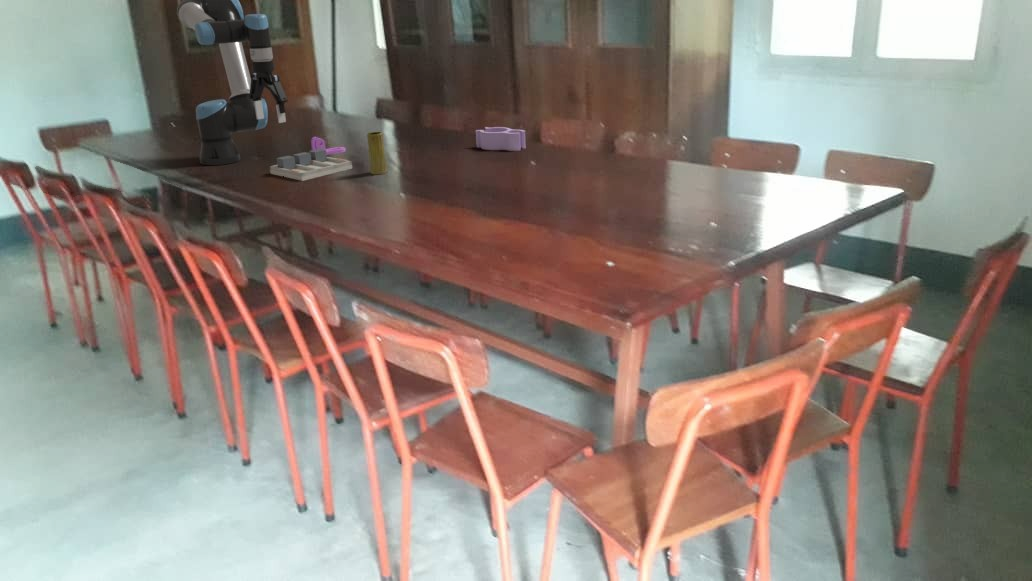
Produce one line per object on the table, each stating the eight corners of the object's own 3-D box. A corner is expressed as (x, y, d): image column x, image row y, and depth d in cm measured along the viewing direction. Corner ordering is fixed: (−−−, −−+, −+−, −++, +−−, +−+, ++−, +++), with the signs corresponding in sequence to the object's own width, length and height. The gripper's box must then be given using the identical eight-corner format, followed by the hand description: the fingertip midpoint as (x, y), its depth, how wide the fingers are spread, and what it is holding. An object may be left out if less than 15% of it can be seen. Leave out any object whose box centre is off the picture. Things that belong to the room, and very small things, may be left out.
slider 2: (294, 165, 297) (292, 154, 296) (305, 162, 301) (304, 152, 299) (300, 166, 295) (299, 155, 293) (311, 163, 298) (310, 153, 297)
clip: (531, 146, 321) (530, 129, 319) (514, 152, 312) (513, 135, 309) (490, 142, 332) (489, 126, 329) (472, 148, 322) (471, 131, 319)
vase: (371, 175, 285) (366, 135, 280) (369, 171, 291) (365, 132, 285) (388, 173, 287) (384, 133, 281) (386, 170, 292) (382, 130, 287)
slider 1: (278, 169, 292) (276, 158, 291) (289, 166, 296) (288, 155, 294) (284, 170, 290) (282, 159, 288) (295, 167, 293) (294, 156, 292)
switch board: (270, 173, 294) (269, 165, 293) (320, 162, 309) (319, 154, 308) (302, 180, 281) (301, 172, 280) (352, 168, 297) (351, 160, 295)
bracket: (317, 156, 319) (315, 139, 317) (312, 154, 324) (310, 137, 321) (348, 151, 326) (345, 134, 324) (342, 149, 330) (340, 132, 328)
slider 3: (310, 161, 302) (308, 151, 301) (320, 159, 305) (319, 148, 304) (316, 162, 300) (314, 152, 298) (327, 160, 303) (325, 149, 301)
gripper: (233, 59, 288) (242, 119, 296) (273, 63, 273) (282, 125, 281) (251, 57, 293) (260, 115, 301) (292, 60, 278) (300, 122, 286)
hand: (271, 120), depth 291 cm, fingers open, 13 cm apart
